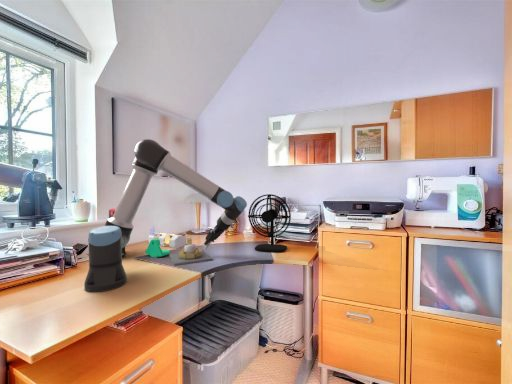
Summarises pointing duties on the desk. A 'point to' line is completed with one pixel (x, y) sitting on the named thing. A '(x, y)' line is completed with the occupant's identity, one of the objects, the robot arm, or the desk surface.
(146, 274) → the desk surface
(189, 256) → the olive castle ruin model
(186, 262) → the cap base
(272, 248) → the desk fan
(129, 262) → the desk surface
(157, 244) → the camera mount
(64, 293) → the desk surface
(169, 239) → the diorama
